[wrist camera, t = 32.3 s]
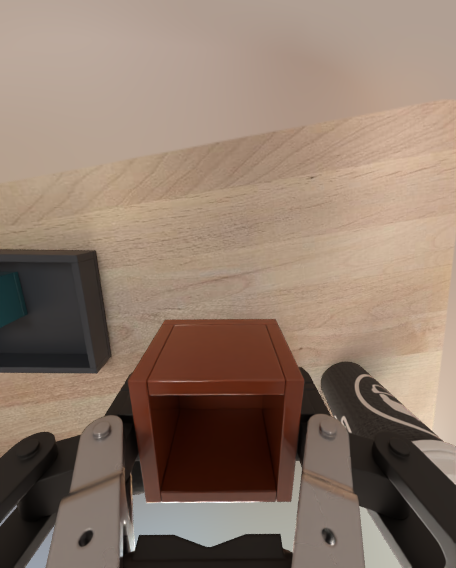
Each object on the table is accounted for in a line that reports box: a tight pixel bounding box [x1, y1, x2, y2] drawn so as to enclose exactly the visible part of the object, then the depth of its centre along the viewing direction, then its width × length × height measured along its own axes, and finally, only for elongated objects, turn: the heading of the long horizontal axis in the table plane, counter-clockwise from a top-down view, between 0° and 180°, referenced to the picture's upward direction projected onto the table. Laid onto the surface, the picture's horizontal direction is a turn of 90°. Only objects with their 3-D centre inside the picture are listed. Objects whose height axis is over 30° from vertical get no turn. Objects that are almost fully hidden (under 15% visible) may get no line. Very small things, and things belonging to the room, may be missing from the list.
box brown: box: [128, 319, 304, 503], centre depth 10 cm, size 6×6×4 cm
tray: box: [0, 249, 111, 373], centre depth 28 cm, size 15×17×4 cm
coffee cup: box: [321, 362, 456, 485], centre depth 25 cm, size 10×10×15 cm
